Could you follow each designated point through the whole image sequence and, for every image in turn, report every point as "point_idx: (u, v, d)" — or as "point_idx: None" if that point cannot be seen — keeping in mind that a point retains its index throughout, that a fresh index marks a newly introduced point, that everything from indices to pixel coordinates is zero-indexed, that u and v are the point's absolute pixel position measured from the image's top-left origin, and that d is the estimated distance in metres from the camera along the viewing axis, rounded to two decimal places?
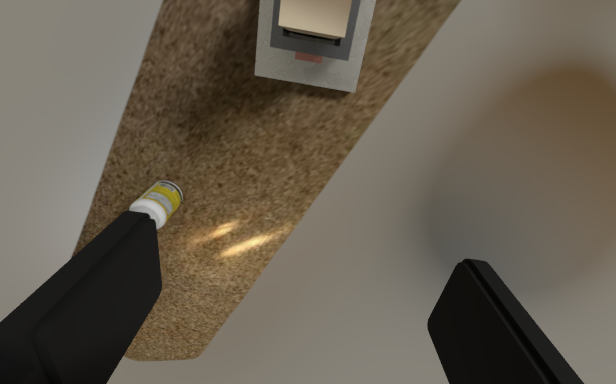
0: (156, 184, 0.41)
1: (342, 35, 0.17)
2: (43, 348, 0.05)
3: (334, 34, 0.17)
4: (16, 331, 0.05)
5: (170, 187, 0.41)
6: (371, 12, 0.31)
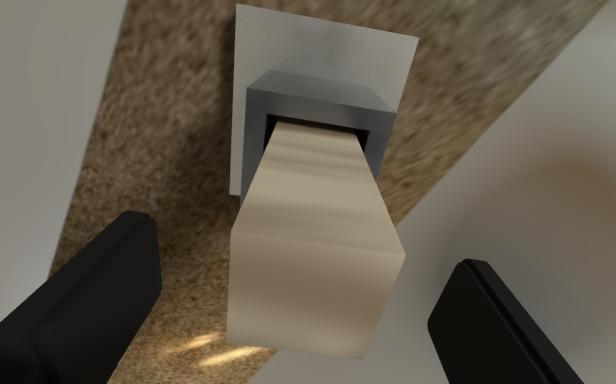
0: None
1: (357, 357, 0.08)
2: (43, 348, 0.05)
3: (341, 354, 0.08)
4: (16, 331, 0.05)
5: None
6: None
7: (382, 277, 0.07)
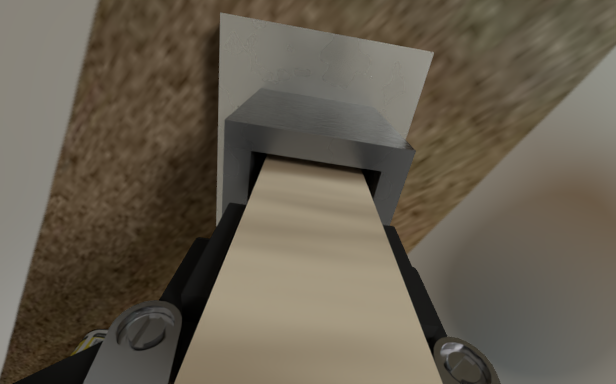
0: (88, 341, 0.29)
1: None
2: None
3: None
4: (199, 293, 0.06)
5: None
6: None
7: None
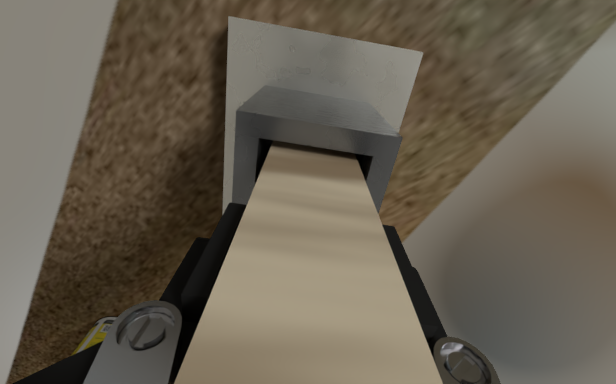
0: (99, 327, 0.31)
1: None
2: None
3: None
4: (199, 293, 0.06)
5: None
6: None
7: None
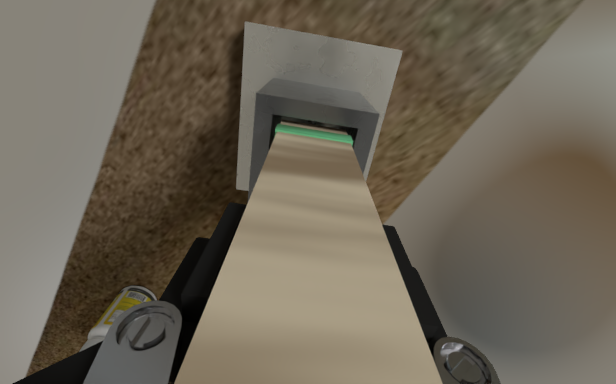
0: (124, 293, 0.35)
1: None
2: None
3: None
4: (199, 293, 0.06)
5: (141, 296, 0.35)
6: (379, 124, 0.25)
7: None
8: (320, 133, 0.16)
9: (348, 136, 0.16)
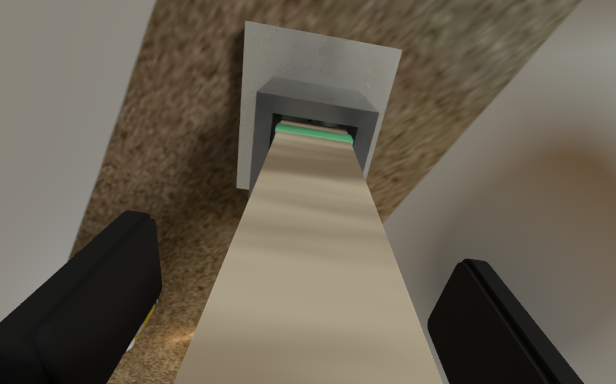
0: None
1: None
2: (43, 348, 0.05)
3: None
4: (16, 331, 0.05)
5: None
6: (379, 123, 0.25)
7: None
8: (320, 132, 0.16)
9: (348, 135, 0.16)
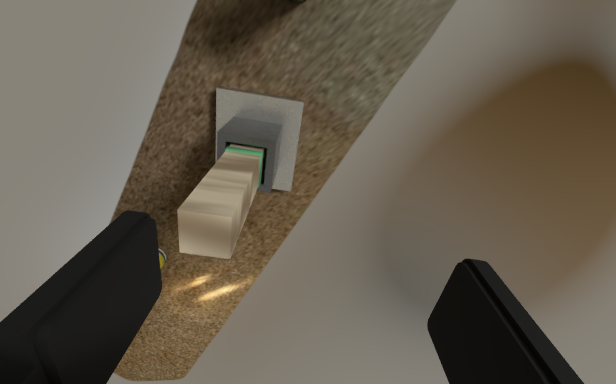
0: None
1: (228, 258, 0.23)
2: (43, 348, 0.05)
3: (222, 257, 0.23)
4: (16, 331, 0.05)
5: None
6: (296, 142, 0.42)
7: (227, 225, 0.22)
8: (247, 151, 0.34)
9: (261, 152, 0.34)
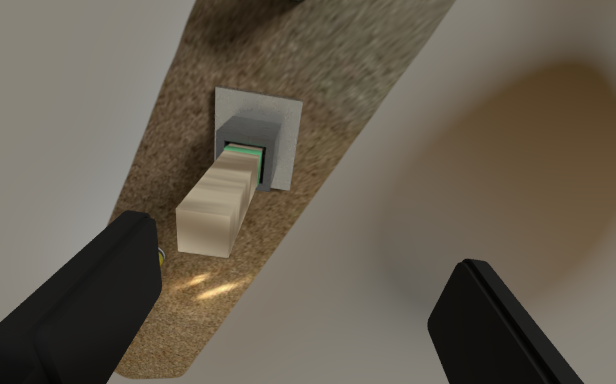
0: None
1: (226, 257, 0.23)
2: (43, 348, 0.05)
3: (220, 256, 0.23)
4: (16, 331, 0.05)
5: None
6: (295, 141, 0.43)
7: (225, 224, 0.22)
8: (246, 150, 0.34)
9: (260, 151, 0.34)
